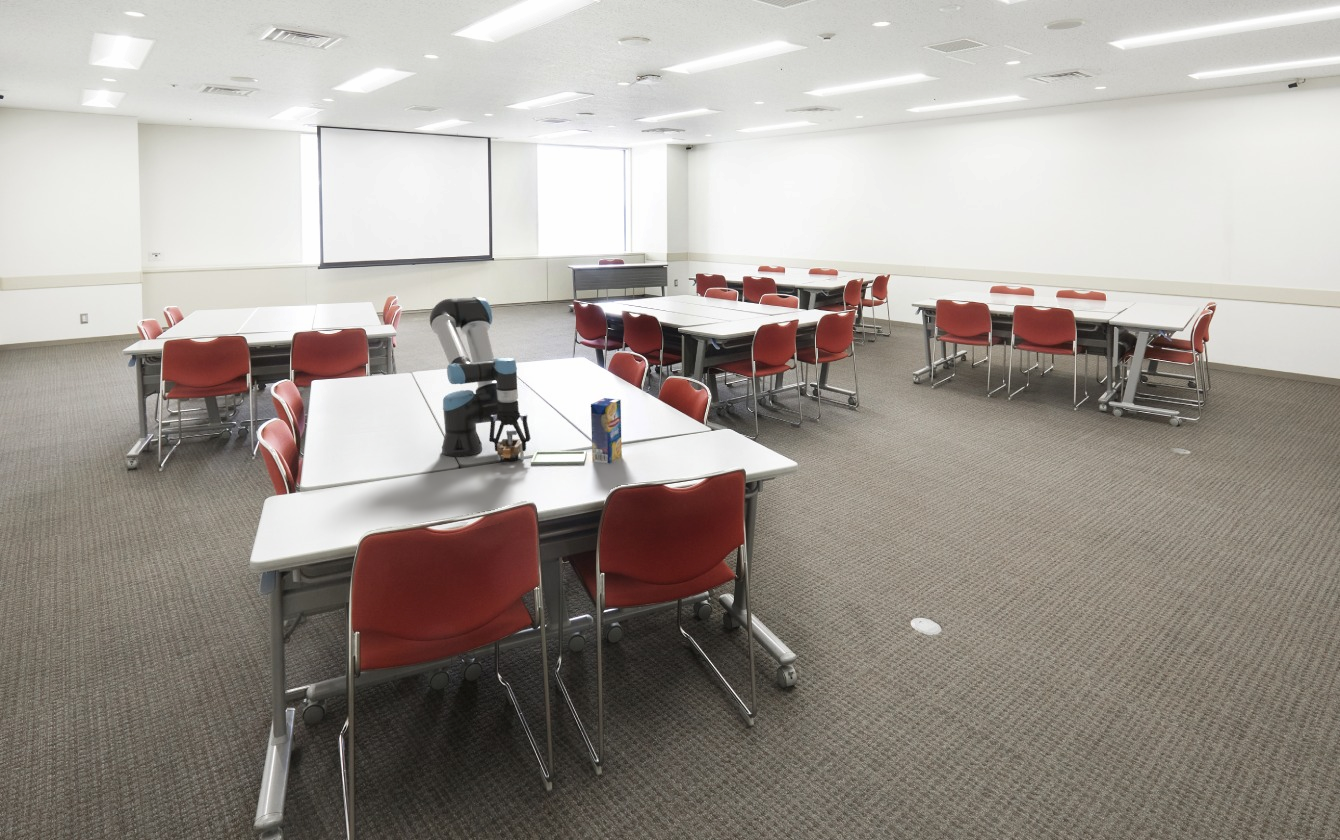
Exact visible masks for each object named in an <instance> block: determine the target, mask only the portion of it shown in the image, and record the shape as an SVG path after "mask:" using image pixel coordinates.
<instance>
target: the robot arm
mask: <svg viewBox="0 0 1340 840" xmlns="http://www.w3.org/2000/svg"><path fill="white" fill-rule="evenodd" d="M492 323H493V315H492V308H491V305H490V303H489V302H488V300H487V299H485V298H483V297H476V296H473V297H465V298H464V297H463V298H462V297H461V298H446V299H443V300H440V301H439V302H438V303H436V305H435V306H434V307H433V308H432V310H431V312H430V315H429V324H430V327H431V330H432V331H433V333H435V334H436V335H437V337H438V340H439V342H440V344H441V347H442V349H443V352H444V354H445V357H446V359H447V361H448V363H449V364H448V365H447V368H446V375H447V378H448V379H447V380H448V381H449V383H450V384H451V385H463V384H472V383H477V387H476V389H475V393H474V390H470V389H466V390H464V389H463V390H457V391H453V392H451V393H448V394H446V395H445V396H444V397H443V400H442V410H443V419H444V437H443V443H442V446H441V453H442V455H444V456H447V457H458V458H459V457H461V458H462V457H468V456H473V455H477V454H479V453H481V452H482V451H483V444H482V441H481V438H480V436H479V434H478V431H477V424H481V423H490V428H489V439H488V441H489V443H490V442H491V443H493V444H494V451H495V452H497V447H498V446H499V444H500V443H501V441H499V440H500V438H501V435H502V432H503V430H504V427H505V426H513V428H514V430H516V432H517V435H518V439H520V440H521V442H520V453H519V455H520V456H519V459H520V461H523V460H524V458H525V457H524V456H525V455H524V452H525V451H526V450H527V443H528V442H530V440H531V439H532V438H531V434H530V430H529V424H528V414H521V413H520V411H519V401H518V399H519V393H518V392H519V391H518V376H517V374H518V373H517V369H518V368H517V362H516V359H515V358H512V357H500V358H495V357H494V353H493V348H492V345H491V340H490V336H489V333H488V330H489V329H490V327H491V325H492ZM457 328H460V331H461V334H463V335H465V336H466V341H467V344H468V347H469V349H468V350H469V353H470V357H471V360H470V357H469V354H468V353H467V350H466V348H465V346H464V343H463V341H462V339H461V336H460V334H459V331H458V329H457ZM519 419H520V421H522V426H523V431H524V433H523V431H522V429H521V426H520V425H519V422H518V420H519ZM496 422H500V423H499V424H500V425H499V428H498V430H497V433H496V436H495V430H496ZM502 458H503V455H498V454H497V459H498V460H497V461H501V460H502Z"/></svg>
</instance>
